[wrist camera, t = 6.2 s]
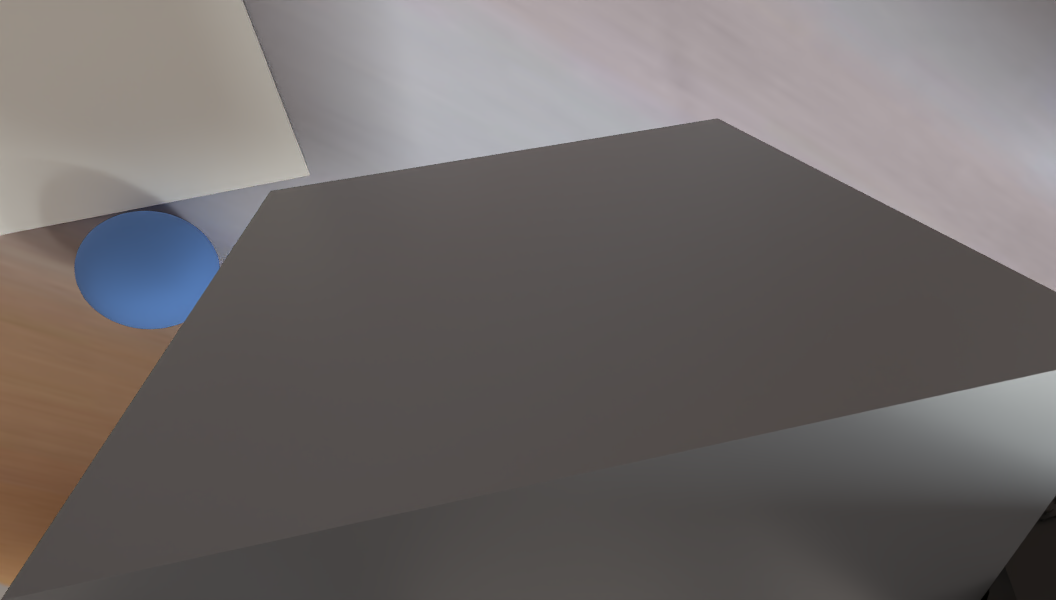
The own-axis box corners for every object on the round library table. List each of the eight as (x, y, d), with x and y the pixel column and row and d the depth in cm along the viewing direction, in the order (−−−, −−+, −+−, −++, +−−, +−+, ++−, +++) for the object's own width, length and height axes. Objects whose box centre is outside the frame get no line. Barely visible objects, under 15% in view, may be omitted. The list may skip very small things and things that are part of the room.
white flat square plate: (309, 174, 24) (309, 175, 24) (-14, 236, 23) (-17, 238, 23) (140, -265, 16) (137, -267, 16) (-363, -198, 15) (-372, -201, 15)
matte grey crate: (689, 424, 18) (878, 742, 11) (389, 488, 17) (367, 884, 10) (717, 118, 12) (1162, 347, 5) (270, 191, 11) (1, 600, 4)
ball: (252, 278, 26) (220, 338, 22) (148, 299, 26) (96, 364, 21) (203, 182, 23) (157, 231, 19) (86, 205, 23) (13, 259, 19)
